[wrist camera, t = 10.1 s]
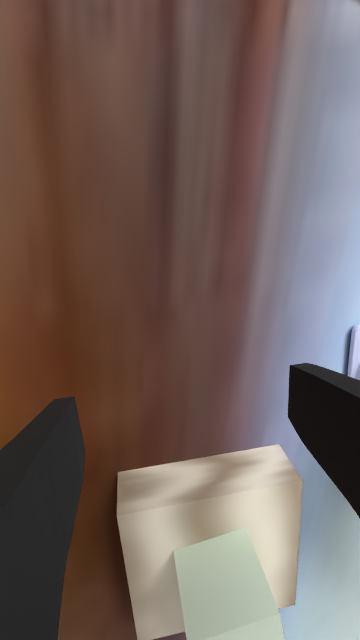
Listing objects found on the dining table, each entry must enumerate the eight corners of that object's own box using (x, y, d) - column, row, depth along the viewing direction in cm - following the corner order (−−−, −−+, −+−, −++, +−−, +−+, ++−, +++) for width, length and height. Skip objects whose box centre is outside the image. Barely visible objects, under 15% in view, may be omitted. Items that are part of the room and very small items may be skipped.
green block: (246, 527, 22) (280, 613, 17) (255, 576, 23) (289, 667, 19) (173, 550, 21) (187, 645, 17) (188, 599, 23) (205, 698, 18)
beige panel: (276, 440, 25) (302, 480, 21) (272, 554, 29) (295, 604, 25) (117, 467, 24) (116, 515, 20) (136, 583, 27) (138, 643, 24)
